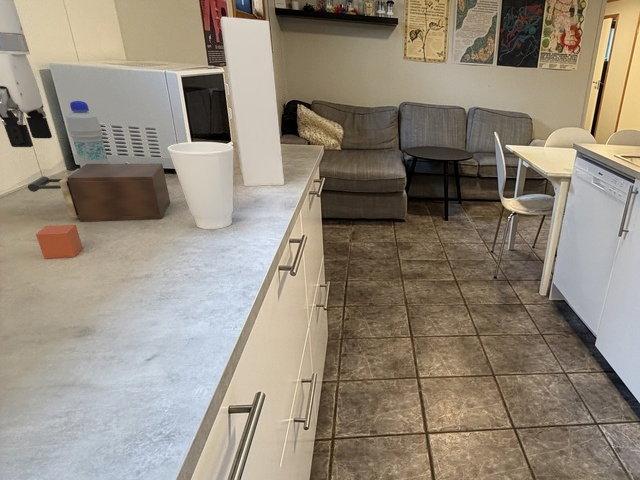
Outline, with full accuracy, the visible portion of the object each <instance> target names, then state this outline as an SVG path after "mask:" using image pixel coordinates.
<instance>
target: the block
mask: <svg viewBox="0 0 640 480" xmlns="http://www.w3.org/2000/svg"><path fill="white" fill-rule="evenodd" d="M35 237H36V240H37V243H38V245H39V248H40V250H41V253H42V256H43V259H61V258H75V257H76V256H77V255H78V254H79V253H80V252H81V250H82V249H84V246H83V244H82V240H81V238H80V233H79V231H78V227H77V225H76V224H62V225H60V224H59V225H45V226H44V227H42V228H41V229H40V230H39V231H38V232H37V233H36V234H35Z"/></svg>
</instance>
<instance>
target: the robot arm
mask: <svg viewBox="0 0 640 480" xmlns="http://www.w3.org/2000/svg"><path fill="white" fill-rule="evenodd" d="M27 55H28V56H29V55H31V52H30V49H29V46H28V43H27V39H26V36H25V32H24V29H23V26H22V23H21V20H20V17H19V13H18V9H17V7H16V3H15V1H14V0H0V119H1V120H0V121H1V123H2V125H3V126H4V130H5V133H6V135H7V138H8V141H9V143H10V146H11V147H12V148H32V147H33V146H34V143H33V141H32V138H33V139H52V138H53V134H52V132H51V129H50V125H49V123H48V122H49V121H48V119H47V114H46V112H45V110H44V104H43V100H42V99H43V98H42V95H41V92H40V88H39V84H38V82H37V80H36V77H35V74H34V71H33V69H32V66H31V64H30V61H29V59H28V56H27ZM24 114H26V116H27V117H25V119H26V122H27V124H24ZM31 137H32V138H31Z"/></svg>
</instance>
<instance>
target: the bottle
mask: <svg viewBox="0 0 640 480" xmlns="http://www.w3.org/2000/svg"><path fill="white" fill-rule="evenodd" d="M69 106H70V109H71V112H70V113H68V114H67V115H66V116H65V118H66V125H67V131H68V133H69V136H70V137H71V139H72V141H73V145H74V149H75V152H76V155H77V158H78V163H79V167H80V168H81V167H83V166H84V165H86V164H110V161H109V160H108V155H107V151H106V148H105V143H104V140H103V137H104V134H103V128H102V126H101V124H100V122H99V119H98V116H97V115H95V114H93V113H92V112H90V109H89V106H88V104H87V102H85V101H82V100H74V101H73V100H72V101H71V102H70V103H69Z"/></svg>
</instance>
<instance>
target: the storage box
mask: <svg viewBox="0 0 640 480" xmlns="http://www.w3.org/2000/svg"><path fill="white" fill-rule="evenodd" d="M219 22H220V27H221V35H222V40H223V42H222V43H223V50H224V56H225V57H224V58H225V65H226V72H227V80H228V86H229V94H230V101H231V109H232V110H231V111H232V117H233V123H234V131H235V139H236V147H237V154H238V161H239V168H240V173H241V177H242V181H243V185H244V187H261V186H284V185H285V177H284V169H283V167H284V166H283V157H282V146H281V144H282V143H281V135H280V125H279V115H278V114H279V113H278V102H277V92H276V91H277V90H276V81H275V72H274V71H275V70H274V62H273V61H274V59H273V50H272V49H273V48H272V39H271V29H270V28H271V27H270V21H269V20H262V19H251V18H241V17H232V16H231V17H230V16H221V18H220V21H219Z"/></svg>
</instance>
